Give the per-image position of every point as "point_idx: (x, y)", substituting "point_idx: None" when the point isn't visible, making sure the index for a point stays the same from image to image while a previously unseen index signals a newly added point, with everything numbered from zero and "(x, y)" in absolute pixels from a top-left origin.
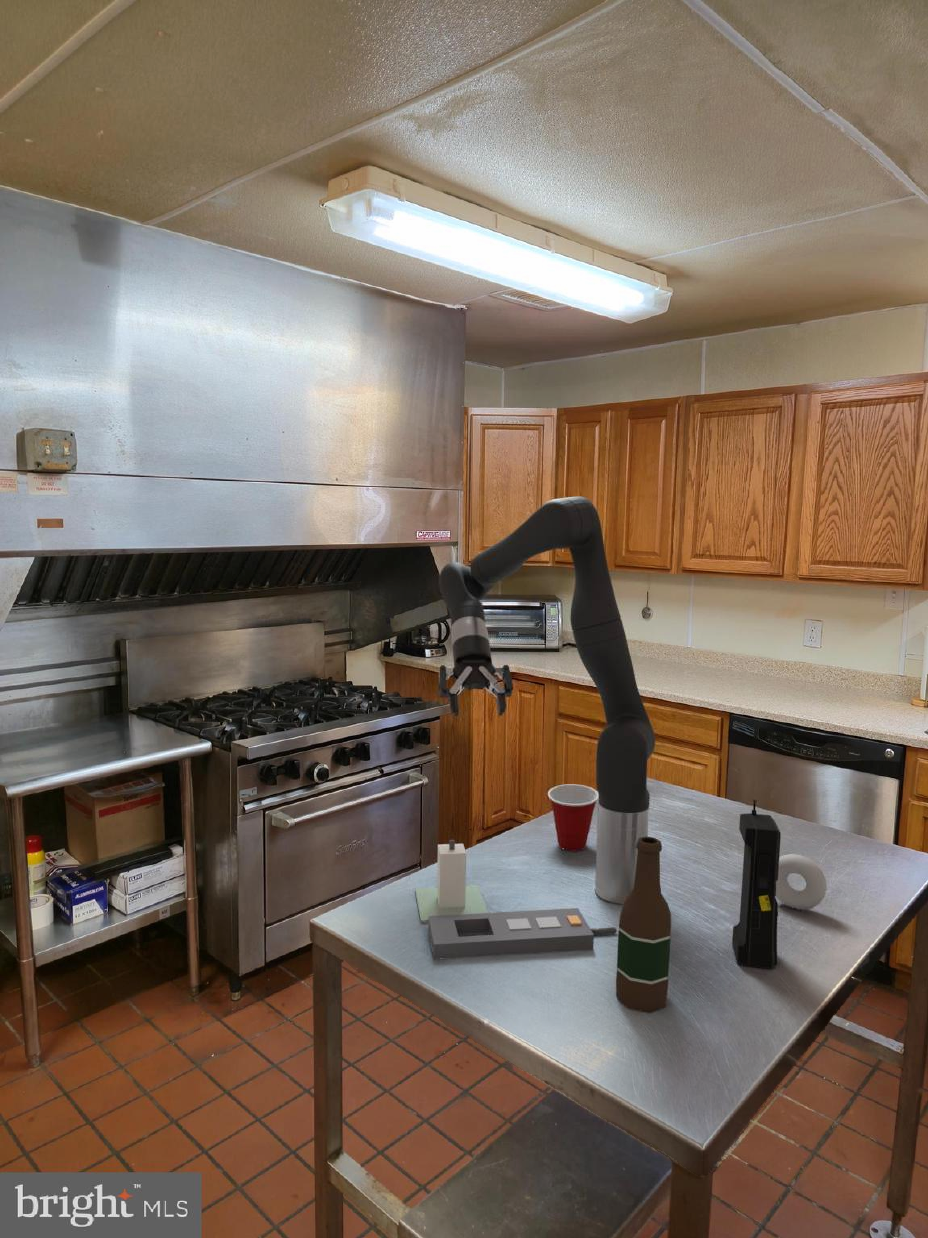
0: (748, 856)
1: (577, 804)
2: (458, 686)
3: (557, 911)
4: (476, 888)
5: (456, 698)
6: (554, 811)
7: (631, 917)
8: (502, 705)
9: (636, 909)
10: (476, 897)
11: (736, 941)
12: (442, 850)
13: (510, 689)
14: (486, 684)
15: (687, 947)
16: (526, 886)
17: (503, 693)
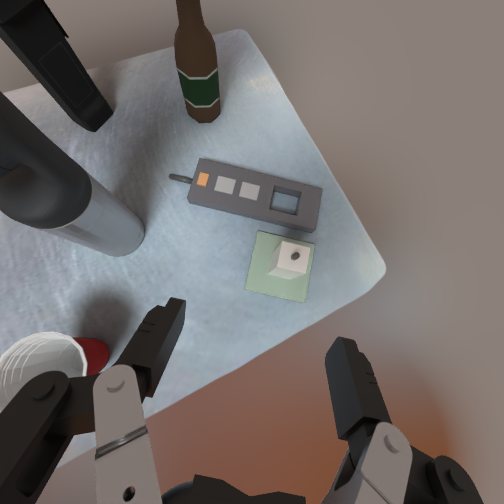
0: (38, 25)
1: (62, 334)
2: (370, 478)
3: (207, 198)
4: (249, 283)
5: (361, 392)
6: (90, 371)
7: (213, 42)
8: (165, 310)
9: (209, 32)
10: (255, 266)
11: (100, 108)
12: (305, 256)
13: (57, 376)
14: (171, 489)
15: (130, 142)
16: (198, 276)
17: (116, 369)
